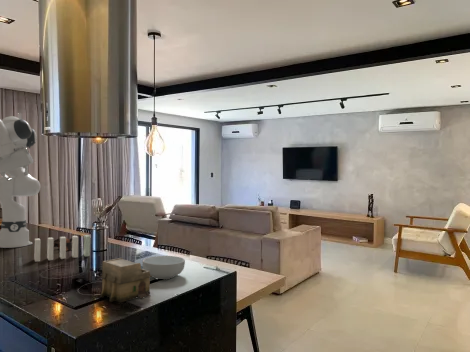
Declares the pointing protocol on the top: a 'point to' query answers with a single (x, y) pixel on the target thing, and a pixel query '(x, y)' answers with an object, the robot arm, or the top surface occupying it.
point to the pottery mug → (68, 243)
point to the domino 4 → (74, 246)
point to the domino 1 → (37, 250)
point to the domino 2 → (50, 248)
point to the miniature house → (124, 280)
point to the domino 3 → (63, 247)
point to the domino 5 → (86, 245)
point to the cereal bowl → (164, 266)
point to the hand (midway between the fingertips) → (18, 177)
